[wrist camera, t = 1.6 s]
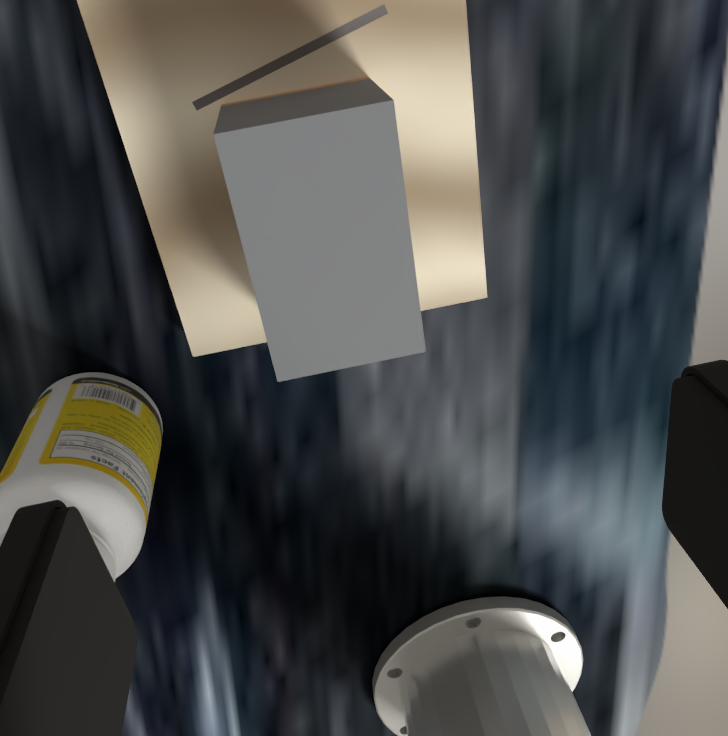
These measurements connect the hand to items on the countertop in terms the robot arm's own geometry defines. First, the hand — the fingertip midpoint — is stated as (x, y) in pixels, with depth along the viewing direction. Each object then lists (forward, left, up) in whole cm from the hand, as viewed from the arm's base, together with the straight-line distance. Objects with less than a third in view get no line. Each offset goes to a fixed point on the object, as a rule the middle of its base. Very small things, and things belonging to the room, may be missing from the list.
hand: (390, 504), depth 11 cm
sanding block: (0, 0, -17) cm, 17 cm away
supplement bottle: (-8, +11, -18) cm, 23 cm away
